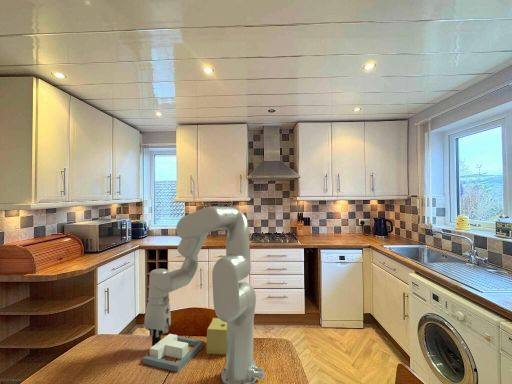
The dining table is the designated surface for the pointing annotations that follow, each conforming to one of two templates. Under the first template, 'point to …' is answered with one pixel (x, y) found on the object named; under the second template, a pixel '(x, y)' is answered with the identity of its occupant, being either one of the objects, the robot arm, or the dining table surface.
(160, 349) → the t block
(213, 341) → the cheese
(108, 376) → the dining table surface
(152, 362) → the frame
